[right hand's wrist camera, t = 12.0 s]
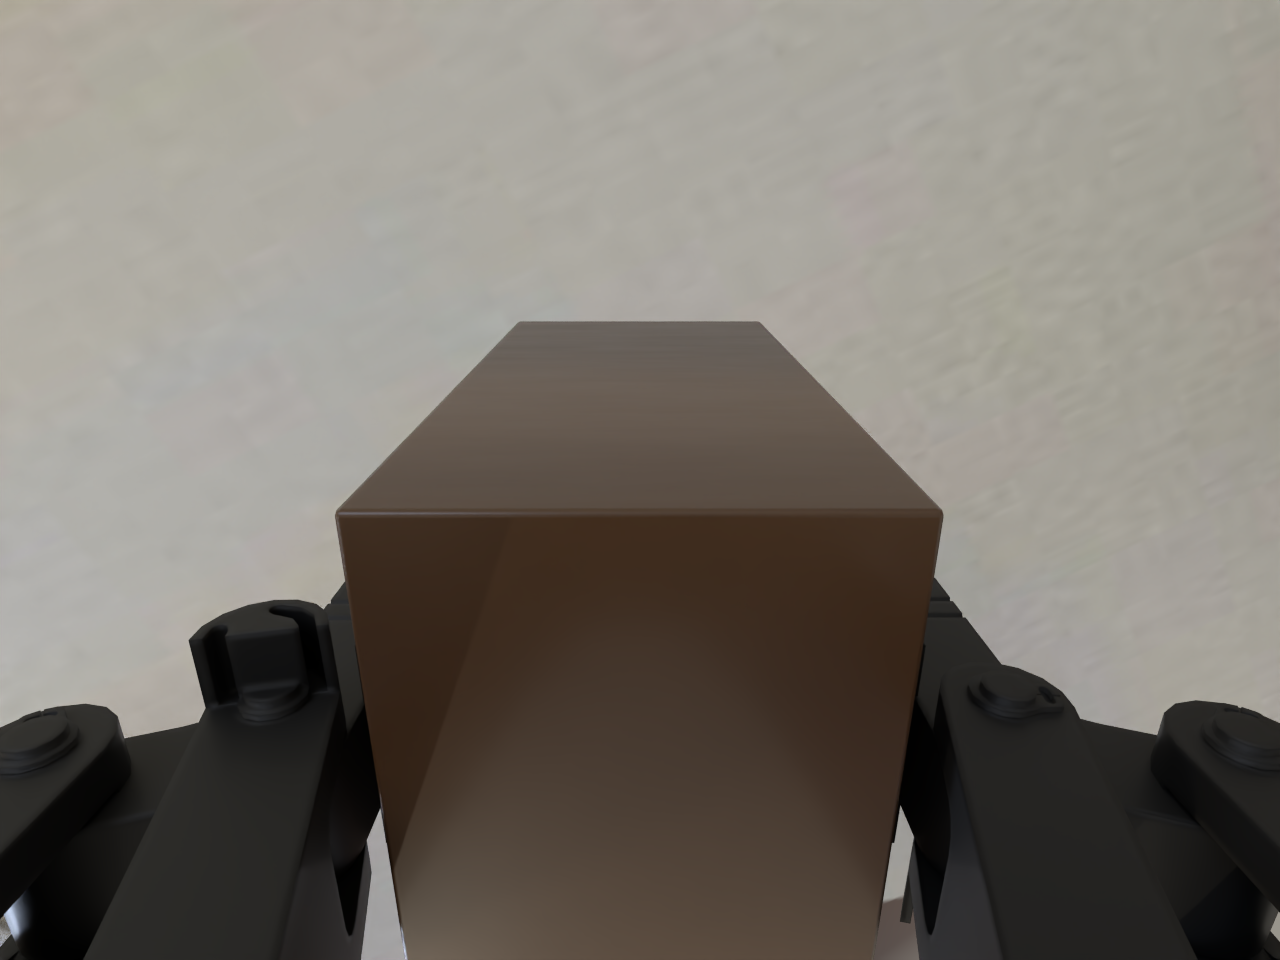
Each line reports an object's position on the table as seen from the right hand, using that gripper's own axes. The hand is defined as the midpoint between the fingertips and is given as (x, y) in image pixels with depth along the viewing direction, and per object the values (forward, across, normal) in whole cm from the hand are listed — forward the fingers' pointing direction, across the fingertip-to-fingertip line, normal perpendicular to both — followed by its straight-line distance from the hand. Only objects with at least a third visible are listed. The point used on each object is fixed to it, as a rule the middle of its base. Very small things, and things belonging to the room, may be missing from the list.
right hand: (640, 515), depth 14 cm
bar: (+1, 0, -9) cm, 9 cm away
